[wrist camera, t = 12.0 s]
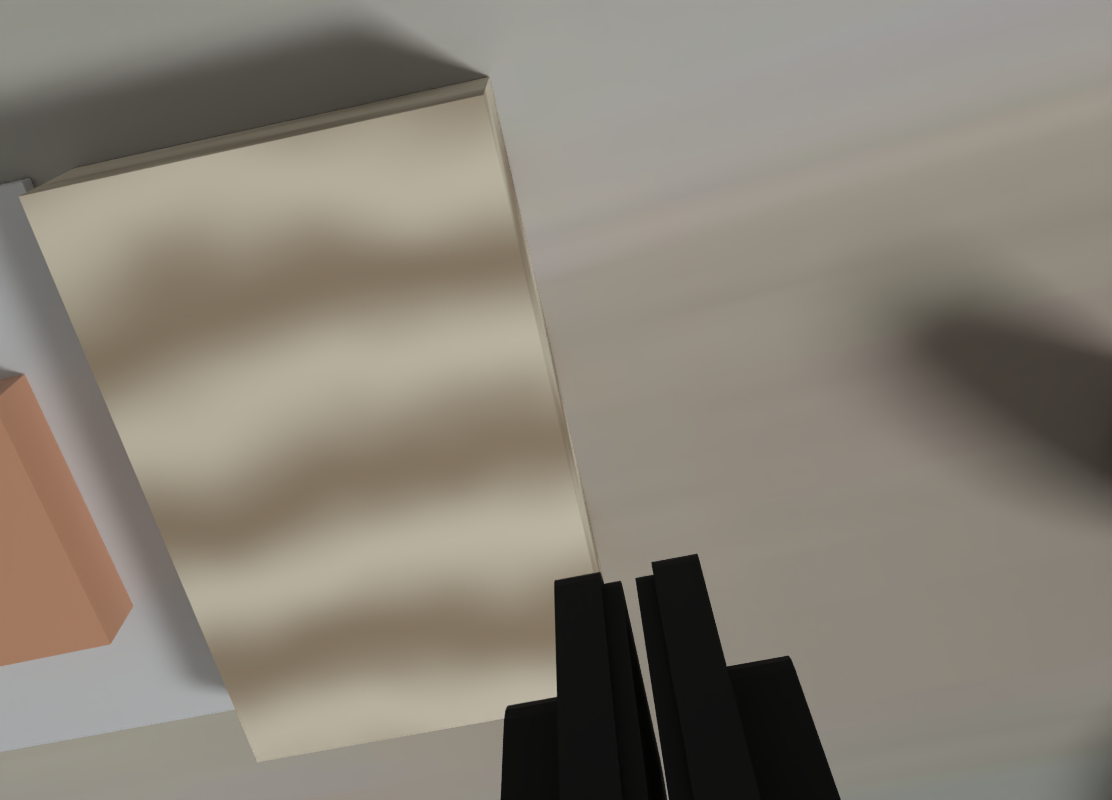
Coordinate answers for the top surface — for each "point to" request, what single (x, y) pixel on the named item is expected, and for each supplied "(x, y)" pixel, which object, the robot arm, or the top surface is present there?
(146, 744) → the top surface
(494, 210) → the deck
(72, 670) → the mat
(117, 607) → the tile
